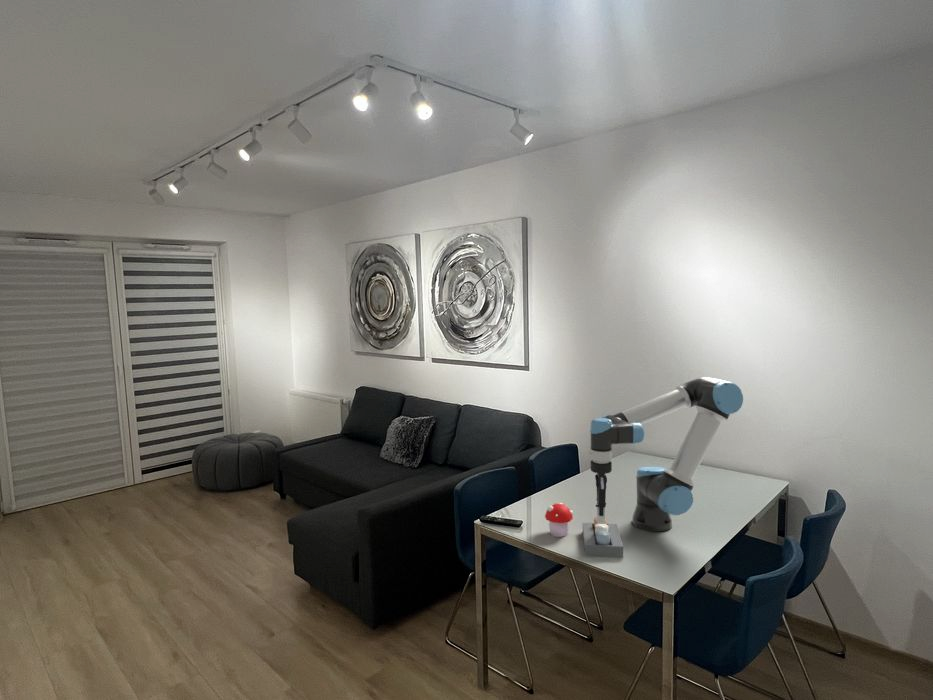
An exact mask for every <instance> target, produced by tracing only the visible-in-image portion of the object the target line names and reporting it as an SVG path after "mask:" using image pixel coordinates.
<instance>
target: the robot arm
mask: <svg viewBox="0 0 933 700" xmlns="http://www.w3.org/2000/svg"><path fill="white" fill-rule="evenodd" d="M742 392H743V391H742V389H741V388H740V387H739V386H738V384H736V383H734V382H731V381H729V380H726V379H719V378H714V377H710V376H702V377H697V378H695V379H692V380H689V381H687V382H683V383H681V384H680V385H677V386H675V389H674V390H671V391H669V392H667V393H664V394H662V395H660V396H657V397H655V398H654V397H653V398H652V399H650V400H648V401H645V402H643V403H640V404H638V405H635V406H633V407H630V408H628V409H626V410H623V411H620V412H617V413H615V414H605V415H603V416H602V417H596V418H593V419H592V420H591V421H590V430H589V432H590V451H589V452H588V454H589V455H590V471H591V472H593V473H594V474H595V475H594V480H595V485H596V504H595V507H596V517H597V524H605V518H606V517H605V516H606V505H607V502H606V496H607V494H606V491H607V482H608V477H607V475H606V474H611V472H612V467H613V463H612V460H613V445H627V444H628V445H629V444H630V445H631V444H633V445H635V444H639V443H642V442H643V441H644V439H645V430H644V427H643V425H644V424H646V423H649V422H651V421H654V420H657V419H659V418H660V417H661V418H662V417H663V416H666V415H669V414H671V413H674V412H675V411H678V410H680V409H683V408H685V409H690V408H692V407H696V411H697V413H696V416H695V418H694V420H693V421H692V423H691V426H690V428H689V430H688V432H687V433H686V435H685V438H684V439H683V441H682V444H681V445H680V447H679V449H678V451H677V453H676V455H675V458H674V459H673V461H672V463H671V466H670V468H668V469H667V468H665V467H660V466H642V467H639V468H638V469H637V471H636V505H635V508H634V511H633V514H632V518H631V519H632V521H631V522H632V524H633V525H634V526H635V528H636V527H637V528H638V529H641V530H644V531H650V532H664V531H668V530H670V529H671V528H672V527H673V522H672V521H673V519H672V517H671V516H680V515H683V514H686V513H687V512H688V511H689V510H690V509H691V508H692V506H693V503H694V497H693V492H692V491H693V489H694V487H695V485H694V481H693V478H694V477H695V475H696V473H697V470H698V469H699V466H700V465H701V463H702V461H703V458H704V457H705V455H706V453H707V451H708V449H709V447H710V445H711V442H712V440H713V439H714V437H715V435H716V433H717V432H718V429H719V427H720V425H721V423H723V422H727V421H728V419H729V417H730V416H731V415H732V414H735V413H737V412H738V411H739V410H741V408H742V405H743V403H744V395H743V393H742Z"/></svg>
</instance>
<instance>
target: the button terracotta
mask: <svg viewBox="0 0 933 700" xmlns="http://www.w3.org/2000/svg"><path fill="white" fill-rule="evenodd" d="M593 523H594V530H595V525H596V524H597V516H596V517H593ZM605 524H606V525H607V524H608V523H607V518H606V517H605Z"/></svg>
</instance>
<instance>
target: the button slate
mask: <svg viewBox="0 0 933 700" xmlns="http://www.w3.org/2000/svg"><path fill="white" fill-rule="evenodd" d="M596 545H610V533H609V532H607V531H598V532H597V533H596Z"/></svg>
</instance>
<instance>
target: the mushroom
mask: <svg viewBox="0 0 933 700" xmlns="http://www.w3.org/2000/svg"><path fill="white" fill-rule="evenodd" d="M573 516H574V511H573V510H571V509H570V508H569V506H567V505H566V504H564V503H562V502H559V503H553V504H552V505H548V507H547V510H546V512H545V515H544V518H545V520H546V521H548V522H549V523H548V527H549V532H550V535H551V536H553V537H556V538H564V537H566V536H568V532H569V527H570V525H569V523H570V522H571V521H572V520H573V519H574V517H573Z"/></svg>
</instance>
